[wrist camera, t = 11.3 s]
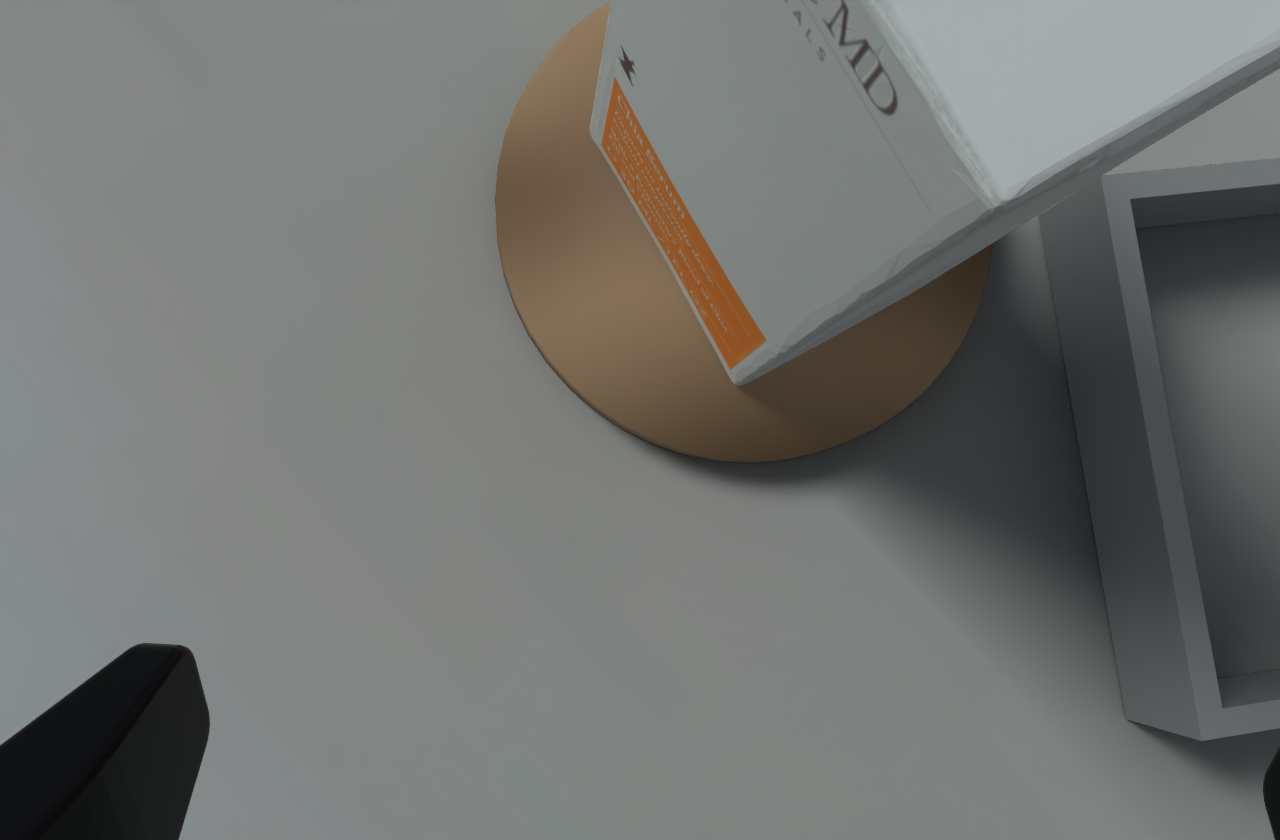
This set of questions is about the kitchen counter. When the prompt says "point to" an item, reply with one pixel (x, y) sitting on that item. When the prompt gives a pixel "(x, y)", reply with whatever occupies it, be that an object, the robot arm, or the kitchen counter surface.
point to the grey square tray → (1146, 440)
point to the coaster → (682, 301)
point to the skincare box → (884, 136)
